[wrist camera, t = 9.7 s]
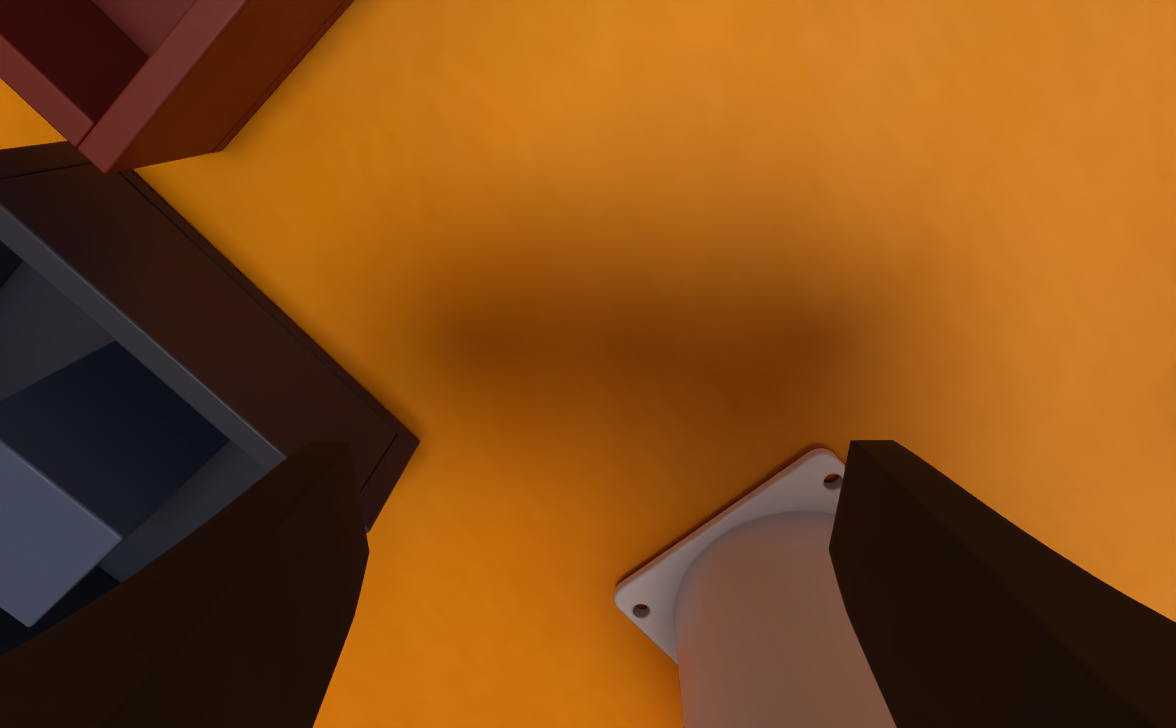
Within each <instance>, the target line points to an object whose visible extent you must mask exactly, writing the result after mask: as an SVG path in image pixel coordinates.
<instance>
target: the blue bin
mask: <svg viewBox="0 0 1176 728" xmlns="http://www.w3.org/2000/svg"><path fill="white" fill-rule="evenodd" d="M115 340H116V341H117V342H118V343H119V344H120V345H121V346H123V347H124V348H125V349H126V350H127V351H128V352H129V353H131V354H132V355H133V356H134V357H135V358H136V359H138V360H139V361H140V362H141V363H142V364H143V365H144V366H146V367H147V368H148V369H149V370H150V371H151V372H152V373H154V374H155V375H156V376H157V377H158V378H159V379H161V380H162V381H163V382H164V383H165V384H166V385H167V386H169V387H170V388H171V389H172V390H173V391H174V392H176V393H177V394H178V395H179V396H180V397H181V398H182V399H184V400H185V401H186V402H187V403H188V404H189V405H191V406H192V407H193V408H194V409H195V410H196V411H197V412H199V413H200V414H201V415H202V416H203V417H204V418H205V419H207V420H208V421H209V422H210V423H211V424H212V425H214V426H215V427H216V428H217V429H218V430H219V431H220V432H222V433H223V434H224V435H225V436H226V437H227V438H229V439H230V441H229V442H228V443H227V444H226V445H225V446H224V447H223V448H221V449H220V450H219V451H218V452H217V453H216V454H215V455H214V456H213V457H212V458H211V459H210V460H209V461H208V462H207V463H206V464H205V465H204V466H203V467H202V468H200V469H199V470H198V471H197V472H196V473H195V474H194V475H193V476H192V477H191V478H190V479H189V480H188V481H187V482H186V483H185V484H184V485H183V486H182V487H181V488H179V489H178V490H177V491H176V492H175V493H174V494H173V495H172V496H171V497H170V498H169V499H168V500H167V501H166V502H165V503H164V504H163V505H162V506H161V507H160V508H159V509H157V510H156V511H155V512H154V513H153V514H152V515H151V516H150V517H149V518H148V519H147V520H146V521H145V522H144V523H143V524H141V525H140V526H139V527H138V528H137V529H136V530H135V531H134V532H133V533H132V534H131V535H130V536H129V537H127V538H126V539H125V540H124V541H123V542H122V543H121V544H120V545H119V546H118V547H117V548H116V549H115V550H114V551H112V552H111V553H110V554H109V555H108V556H107V557H106V558H105V559H104V560H103V561H102V562H101V563H100V564H99V565H97V566H96V567H95V568H94V569H93V570H92V571H91V572H90V573H89V574H88V575H87V576H86V577H85V578H83V579H82V580H81V581H80V582H79V583H78V584H77V585H76V586H75V587H74V588H73V589H72V590H71V591H70V592H68V593H67V594H66V595H65V596H64V597H63V598H62V599H61V600H60V601H59V602H58V603H57V604H56V605H54V606H53V607H52V608H51V609H50V610H49V611H48V612H47V613H46V614H45V615H44V616H43V617H42V618H41V619H39V620H38V621H37V622H36V623H35V624H34V625H33V626H31V627H27V626H26V625H24V624H23V623H22V622H20V621H19V620H17V619H16V618H15V617H13V616H12V615H11V614H9V613H8V612H6V611H5V610H4V609H2V608H1V607H0V656H1V655H3V654H5V653H7V652H9V651H10V650H12V649H14V648H16V647H18V646H20V645H21V644H23V643H25V642H27V641H29V640H30V639H32V638H34V637H36V636H37V635H39V634H41V633H42V632H44V631H46V630H48V629H49V628H51V627H52V626H54V625H56V624H57V623H59V622H61V621H62V620H64V619H66V618H67V617H69V616H70V615H72V614H74V613H75V612H77V611H79V610H80V609H82V608H83V607H85V606H87V605H88V604H90V603H92V602H93V601H95V600H96V599H98V598H99V597H101V596H102V595H104V594H105V593H107V592H109V591H110V590H112V589H113V588H115V587H116V586H118V585H119V584H121V583H122V582H124V581H125V580H127V579H128V578H130V577H131V576H133V575H134V574H135V573H137V572H138V571H139V570H141V569H142V568H144V567H145V566H146V565H148V564H149V563H151V562H152V561H153V560H155V559H156V558H157V557H159V556H160V555H162V554H163V553H164V552H166V551H167V550H169V549H170V548H171V547H173V546H174V545H175V544H177V543H178V542H180V541H181V540H182V539H184V538H185V537H187V536H188V535H189V534H191V533H192V532H193V531H195V530H196V529H198V528H199V527H200V526H201V525H203V524H204V523H205V522H207V521H208V520H209V519H210V518H212V517H213V516H214V515H216V514H217V513H218V512H219V511H221V510H222V509H223V508H224V507H226V506H227V505H228V504H229V503H231V502H232V501H233V500H235V499H236V498H237V497H238V496H240V495H241V494H242V493H243V492H245V491H246V490H247V489H248V488H250V487H251V486H252V485H253V484H255V483H256V482H257V481H258V480H260V479H261V478H262V477H263V476H265V475H266V474H267V473H268V472H270V471H271V470H272V469H273V468H274V467H276V466H277V465H278V464H279V463H281V462H282V461H283V460H285V459H286V458H287V457H288V456H290V455H291V454H292V453H293V452H295V451H296V450H297V449H299V448H300V447H302V446H303V445H304V444H306V443H307V442H350V443H351V449H352V455H353V461H354V466H355V472H356V478H357V484H358V489H359V495H360V501H361V507H362V512H363V518H364V524H365V530H366V533H368V532H369V531H370V529H371V528H372V526H373V524H374V522H375V521H376V519H377V517H378V515H379V514H380V512H381V510H382V508H383V506H384V505H385V503H386V501H387V499H388V498H389V496H390V494H391V492H392V491H393V489H394V487H395V485H396V483H397V482H398V480H399V478H400V476H401V475H402V473H403V471H404V469H405V468H406V466H407V464H408V462H409V460H410V459H411V457H412V455H413V453H414V451H415V450H416V448H417V446H418V445H419V441H418V440H417V439H416V438H415V437H414V436H413V435H412V434H411V433H410V432H409V431H408V430H407V429H406V428H405V427H404V426H402V425H401V424H400V423H399V422H398V421H397V420H396V419H395V418H394V417H393V416H392V415H391V414H390V413H389V412H388V411H387V410H385V409H384V408H383V407H382V406H381V405H380V404H379V403H378V402H377V401H376V400H375V399H374V398H373V397H372V396H371V395H370V394H368V393H367V392H366V391H365V390H364V389H363V388H362V387H361V386H360V385H359V384H358V383H357V382H356V381H355V380H354V379H353V378H351V377H350V376H349V375H348V374H347V373H346V372H345V371H344V370H343V369H342V368H341V367H340V366H339V365H338V364H337V363H335V362H334V361H333V360H332V359H331V358H330V357H329V356H328V355H327V354H326V353H325V352H324V351H323V350H322V349H321V348H320V347H318V346H317V345H316V344H315V343H314V342H313V341H312V340H311V339H310V338H309V337H308V336H307V335H306V334H305V333H304V332H303V331H301V330H300V329H299V328H298V327H297V326H296V325H295V324H294V323H293V322H292V321H291V320H290V319H289V318H288V317H287V316H286V315H284V314H283V313H282V312H281V311H280V310H279V309H278V308H277V307H276V306H275V305H274V304H273V303H272V302H271V301H270V300H269V299H267V298H266V297H265V296H264V295H263V294H262V293H261V292H260V291H259V290H258V289H257V288H256V287H255V286H254V285H253V284H252V283H250V282H249V281H248V280H247V279H246V278H245V277H244V276H243V275H242V274H241V273H240V272H239V271H238V270H237V269H236V268H235V267H233V266H232V265H231V264H230V263H229V262H228V261H227V260H226V259H225V258H224V257H223V256H222V255H221V254H220V253H219V252H218V251H216V250H215V249H214V248H213V247H212V246H211V245H210V244H209V243H208V242H207V241H206V240H205V239H204V238H203V237H202V236H201V235H199V234H198V233H197V232H196V231H195V230H194V229H193V228H192V227H191V226H190V225H189V224H188V223H187V222H186V221H185V220H184V219H182V218H181V217H180V216H179V215H178V214H177V213H176V212H175V211H174V210H173V209H172V208H171V207H170V206H169V205H168V204H167V203H165V202H164V201H163V200H162V199H161V198H160V197H159V196H158V195H157V194H156V193H155V192H154V191H153V190H152V189H151V188H150V187H148V186H147V185H146V184H145V183H144V182H143V181H142V180H141V179H140V178H139V177H138V176H137V175H136V174H135V173H134V172H133V171H131V170H130V169H129V170H124V171H119V172H114V173H109V174H105V173H103V172H102V171H101V170H99V169H98V168H97V167H96V166H95V165H94V164H93V163H92V162H91V161H90V160H89V159H88V158H87V157H85V156H84V155H83V154H82V153H81V152H80V151H79V150H78V147H75V146H73V145H72V144H71V143H70V142H69V141H64V142H56V143H48V144H40V145H32V146H25V147H17V148H9V149H1V150H0V401H1V400H3V399H5V398H7V397H9V396H11V395H12V394H14V393H16V392H18V391H20V390H22V389H24V388H26V387H28V386H30V385H31V384H33V383H35V382H37V381H39V380H41V379H43V378H45V377H47V376H49V375H50V374H52V373H54V372H56V371H58V370H60V369H62V368H64V367H66V366H68V365H69V364H71V363H73V362H75V361H77V360H79V359H81V358H83V357H85V356H86V355H88V354H90V353H92V352H94V351H96V350H98V349H100V348H102V347H104V346H105V345H107V344H109V343H111V342H113V341H115Z"/></svg>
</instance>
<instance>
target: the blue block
mask: <svg viewBox="0 0 1176 728" xmlns="http://www.w3.org/2000/svg"><path fill="white" fill-rule="evenodd" d="M229 441H230V439H229V438H227V437H226V436H225V435H224V434H223V433H222V432H220V431H219V430H218V429H217V428H216V427H215V426H214V425H212V424H211V423H210V422H209V421H208V420H207V419H205V418H204V417H203V416H202V415H201V414H200V413H199V412H197V411H196V410H195V409H194V408H193V407H192V406H191V405H189V404H188V403H187V402H186V401H185V400H184V399H182V398H181V397H180V396H179V395H178V394H177V393H176V392H174V391H173V390H172V389H171V388H170V387H169V386H167V385H166V384H165V383H164V382H163V381H162V380H161V379H159V378H158V377H157V376H156V375H155V374H154V373H152V372H151V371H150V370H149V369H148V368H147V367H146V366H144V365H143V364H142V363H141V362H140V361H139V360H138V359H136V358H135V357H134V356H133V355H132V354H131V353H129V352H128V351H127V350H126V349H125V348H124V347H123V346H121V345H120V344H119V343H118V342H117V341H116V340H115V341H113V342H111V343H109V344H107V345H105V346H104V347H102V348H100V349H98V350H96V351H94V352H92V353H90V354H88V355H86V356H85V357H83V358H81V359H79V360H77V361H75V362H73V363H71V364H69V365H68V366H66V367H64V368H62V369H60V370H58V371H56V372H54V373H52V374H50V375H49V376H47V377H45V378H43V379H41V380H39V381H37V382H35V383H33V384H31V385H30V386H28V387H26V388H24V389H22V390H20V391H18V392H16V393H14V394H12V395H11V396H9V397H7V398H5V399H3V400H1V401H0V607H1V608H2V609H4V610H5V611H6V612H8V613H9V614H11V615H12V616H13V617H15V618H16V619H17V620H19V621H20V622H22V623H23V624H24V625H26V626H27V627H31V626H33V625H34V624H35V623H36V622H37V621H38V620H39V619H41V618H42V617H43V616H44V615H45V614H46V613H47V612H48V611H49V610H50V609H51V608H52V607H53V606H54V605H56V604H57V603H58V602H59V601H60V600H61V599H62V598H63V597H64V596H65V595H66V594H67V593H68V592H70V591H71V590H72V589H73V588H74V587H75V586H76V585H77V584H78V583H79V582H80V581H81V580H82V579H83V578H85V577H86V576H87V575H88V574H89V573H90V572H91V571H92V570H93V569H94V568H95V567H96V566H97V565H99V564H100V563H101V562H102V561H103V560H104V559H105V558H106V557H107V556H108V555H109V554H110V553H111V552H112V551H114V550H115V549H116V548H117V547H118V546H119V545H120V544H121V543H122V542H123V541H124V540H125V539H126V538H127V537H129V536H130V535H131V534H132V533H133V532H134V531H135V530H136V529H137V528H138V527H139V526H140V525H141V524H143V523H144V522H145V521H146V520H147V519H148V518H149V517H150V516H151V515H152V514H153V513H154V512H155V511H156V510H157V509H159V508H160V507H161V506H162V505H163V504H164V503H165V502H166V501H167V500H168V499H169V498H170V497H171V496H172V495H173V494H174V493H175V492H176V491H177V490H178V489H179V488H181V487H182V486H183V485H184V484H185V483H186V482H187V481H188V480H189V479H190V478H191V477H192V476H193V475H194V474H195V473H196V472H197V471H198V470H199V469H200V468H202V467H203V466H204V465H205V464H206V463H207V462H208V461H209V460H210V459H211V458H212V457H213V456H214V455H215V454H216V453H217V452H218V451H219V450H220V449H221V448H223V447H224V446H225V445H226V444H227V443H228V442H229Z"/></svg>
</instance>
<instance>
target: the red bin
mask: <svg viewBox="0 0 1176 728" xmlns="http://www.w3.org/2000/svg"><path fill="white" fill-rule="evenodd" d="M352 1H353V0H0V78H1V79H2V80H3V81H4V82H5V83H6V84H7V85H9V86H10V87H11V88H12V89H13V90H14V91H15V92H16V93H17V94H18V95H19V96H20V97H21V98H23V99H24V100H25V101H26V102H27V103H28V104H29V105H30V106H31V107H32V108H33V109H34V110H35V111H37V112H38V113H39V114H40V115H41V116H42V117H43V118H44V119H45V120H46V121H47V122H48V123H49V124H51V125H52V126H53V127H54V128H55V129H56V130H57V131H58V132H59V133H60V134H61V135H62V136H63V137H65V138H66V139H67V140H68V141H69V142H70V143H71V144H72V145H73V146H75V147H78V150H79V151H80V152H81V153H82V154H83V155H84V156H85V157H87V158H88V159H89V160H90V161H91V162H92V163H93V164H94V165H95V166H96V167H97V168H98V169H99V170H101V171H102V172H103V173H105V174H109V173H114V172H119V171H124V170H129V169H134V168H139V167H144V166H149V165H154V164H159V163H164V162H169V161H174V160H179V159H184V158H189V157H194V156H198V155H203V154H208V153H214V152H219V151H221V150H222V149H223V148H224V147H225V146H226V145H227V143H228V142H229V141H230V140H231V139H232V138H233V137H234V135H235V134H236V133H237V132H238V131H239V130H240V129H241V127H242V126H243V125H244V124H245V123H246V122H247V121H248V119H249V118H250V117H251V116H252V115H253V114H254V113H255V112H256V110H257V109H258V108H259V107H260V106H261V105H262V104H263V102H264V101H265V100H266V99H267V98H268V97H269V96H270V94H271V93H272V92H273V91H274V90H275V89H276V88H277V86H278V85H279V84H280V83H281V82H282V81H283V80H284V78H285V77H286V76H287V75H288V74H289V73H290V72H291V70H292V69H293V68H294V67H295V66H296V65H297V64H298V62H299V61H300V60H301V59H302V58H303V57H304V56H305V54H306V53H307V52H308V51H309V50H310V49H311V48H312V46H313V45H314V44H315V43H316V42H317V41H318V40H319V39H320V37H321V36H322V35H323V34H324V33H325V32H326V31H327V29H328V28H329V27H330V26H331V25H332V24H333V23H334V21H335V20H336V19H337V18H338V17H339V16H340V15H341V13H342V12H343V11H344V10H345V9H346V8H347V7H348V5H349V4H350V3H351V2H352Z"/></svg>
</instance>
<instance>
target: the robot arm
mask: <svg viewBox="0 0 1176 728" xmlns="http://www.w3.org/2000/svg"><path fill="white" fill-rule="evenodd" d="M830 474H838V475H839V478H838V479H837V480H836V481H834V482H832V483H825V482H824V479H825V478H826V477H827V476H828V475H830ZM368 556H369V547H368V541H367V535H366V530H365V524H364V518H363V512H362V507H361V501H360V495H359V489H358V484H357V478H356V472H355V466H354V461H353V455H352V449H351V443H350V442H307V443H306V444H304V445H303V446H302V447H300V448H299V449H297V450H296V451H295V452H293V453H292V454H291V455H290V456H288V457H287V458H286V459H285V460H283V461H282V462H281V463H279V464H278V465H277V466H276V467H274V468H273V469H272V470H271V471H270V472H268V473H267V474H266V475H265V476H263V477H262V478H261V479H260V480H258V481H257V482H256V483H255V484H253V485H252V486H251V487H250V488H248V489H247V490H246V491H245V492H243V493H242V494H241V495H240V496H238V497H237V498H236V499H235V500H233V501H232V502H231V503H229V504H228V505H227V506H226V507H224V508H223V509H222V510H221V511H219V512H218V513H217V514H216V515H214V516H213V517H212V518H210V519H209V520H208V521H207V522H205V523H204V524H203V525H201V526H200V527H199V528H198V529H196V530H195V531H193V532H192V533H191V534H189V535H188V536H187V537H185V538H184V539H182V540H181V541H180V542H178V543H177V544H175V545H174V546H173V547H171V548H170V549H169V550H167V551H166V552H164V553H163V554H162V555H160V556H159V557H157V558H156V559H155V560H153V561H152V562H151V563H149V564H148V565H146V566H145V567H144V568H142V569H141V570H139V571H138V572H137V573H135V574H134V575H133V576H131V577H130V578H128V579H127V580H125V581H124V582H122V583H121V584H119V585H118V586H116V587H115V588H113V589H112V590H110V591H109V592H107V593H105V594H104V595H102V596H101V597H99V598H98V599H96V600H95V601H93V602H92V603H90V604H88V605H87V606H85V607H83V608H82V609H80V610H79V611H77V612H75V613H74V614H72V615H70V616H69V617H67V618H66V619H64V620H62V621H61V622H59V623H57V624H56V625H54V626H52V627H51V628H49V629H48V630H46V631H44V632H42V633H41V634H39V635H37V636H36V637H34V638H32V639H30V640H29V641H27V642H25V643H23V644H21V645H20V646H18V647H16V648H14V649H12V650H10V651H9V652H7V653H5V654H3V655H1V656H0V728H313V725H314V722H315V720H316V717H317V715H318V712H319V709H320V707H321V704H322V701H323V699H324V696H325V693H326V691H327V688H328V686H329V683H330V680H331V678H332V675H333V672H334V670H335V667H336V664H337V662H338V659H339V656H340V654H341V651H342V648H343V646H344V643H345V640H346V638H347V635H348V632H349V629H350V627H351V624H352V621H353V618H354V615H355V611H356V607H357V603H358V599H359V595H360V591H361V587H362V583H363V578H364V574H365V569H366V565H367V560H368ZM614 601H615V605H616V606H617V607H618V609H619V610H620V611H622V612H623V613H624V614H625V615H626V616H627V617H628V618H629V619H630V620H631V621H632V622H633V623H634V624H635V625H636V626H637V627H638V628H639V629H640V630H642V631H643V632H644V633H645V634H646V635H647V636H648V637H649V638H650V639H651V640H652V641H653V642H654V643H655V644H656V645H657V646H658V647H659V648H660V649H662V650H663V651H664V652H665V653H666V654H667V655H668V656H669V657H670V658H671V659H672V660H673V661H674V662H675V663H676V664H677V665H678V666H679V678H680V691H681V703H682V716H683V728H1176V622H1174V621H1172V620H1170V619H1168V618H1167V617H1165V616H1163V615H1161V614H1159V613H1158V612H1156V611H1154V610H1152V609H1150V608H1148V607H1147V606H1145V605H1143V604H1141V603H1139V602H1138V601H1136V600H1134V599H1132V598H1130V597H1128V596H1127V595H1125V594H1123V593H1122V592H1120V591H1118V590H1116V589H1115V588H1113V587H1111V586H1110V585H1108V584H1106V583H1105V582H1103V581H1101V580H1100V579H1098V578H1096V577H1095V576H1093V575H1091V574H1090V573H1088V572H1087V571H1085V570H1083V569H1082V568H1080V567H1079V566H1077V565H1076V564H1074V563H1072V562H1071V561H1069V560H1068V559H1066V558H1064V557H1063V556H1061V555H1060V554H1058V553H1057V552H1055V551H1053V550H1052V549H1050V548H1049V547H1047V546H1046V545H1044V544H1043V543H1041V542H1040V541H1038V540H1037V539H1035V538H1034V537H1032V536H1031V535H1029V534H1028V533H1026V532H1025V531H1023V530H1022V529H1020V528H1019V527H1017V526H1016V525H1014V524H1013V523H1011V522H1010V521H1008V520H1007V519H1006V518H1004V517H1003V516H1001V515H1000V514H998V513H997V512H996V511H994V510H993V509H991V508H990V507H988V506H987V505H986V504H984V503H983V502H981V501H980V500H979V499H977V498H976V497H974V496H973V495H971V494H970V493H969V492H967V491H966V490H964V489H963V488H962V487H960V486H959V485H958V484H956V483H955V482H953V481H952V480H951V479H949V478H948V477H946V476H945V475H944V474H942V473H941V472H939V471H938V470H937V469H935V468H934V467H932V466H931V465H930V464H928V463H927V462H925V461H924V460H922V459H921V458H920V457H918V456H917V455H915V454H914V453H912V452H911V451H909V450H908V449H906V448H905V447H903V446H901V445H900V444H898V443H897V442H895V441H893V440H851V442H850V447H849V451H848V456H847V461H846V466H845V465H844V464H843V463H842V462H841V460H840V459H839V458H838V457H837V456H836V455H835V454H834V453H833V452H832V451H830V450H828V449H825V448H818V449H814V450H812V451H809V452H808V453H806V454H805V455H804V456H802V457H801V458H799V459H798V460H796V461H795V462H793V463H792V464H791V465H789V466H788V467H786V468H785V469H783V470H782V471H780V472H779V473H778V474H776V475H775V476H773V477H772V478H770V479H769V480H768V481H766V482H765V483H763V484H762V485H760V486H759V487H757V488H756V489H755V490H753V491H752V492H750V493H749V494H747V495H746V496H744V497H743V498H742V499H740V500H739V501H737V502H736V503H734V504H733V505H732V506H730V507H729V508H727V509H726V510H724V511H723V512H721V513H720V514H719V515H717V516H716V517H714V518H713V519H711V520H710V521H708V522H707V523H706V524H704V525H703V526H701V527H700V528H698V529H697V530H695V531H694V532H693V533H691V534H690V535H688V536H687V537H685V538H684V539H683V540H681V541H680V542H678V543H677V544H675V545H674V546H672V547H671V548H670V549H668V550H667V551H665V552H664V553H662V554H661V555H659V556H658V557H657V558H655V559H654V560H652V561H651V562H649V563H648V564H647V565H645V566H644V567H642V568H641V569H639V570H638V571H636V572H635V573H634V574H632V575H631V576H629V577H628V578H626V579H625V580H623V581H622V582H621V583H619V584H618V585H617V586H616V588H615V591H614ZM638 604H644V605H646V606H648V607H647V608H645V609H637V608H635V606H636V605H638Z"/></svg>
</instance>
